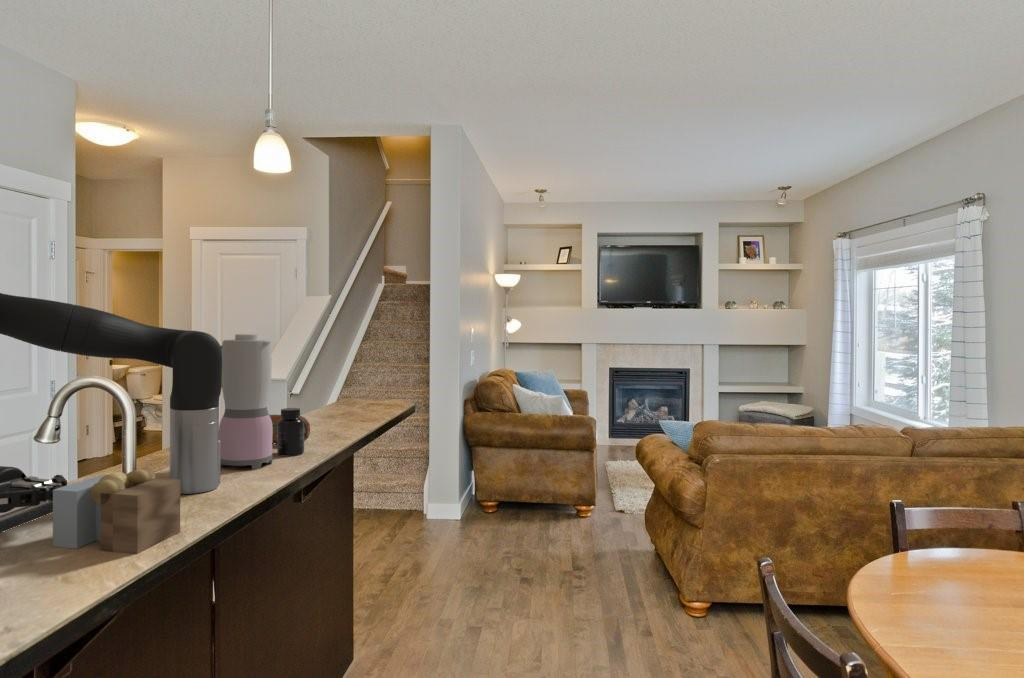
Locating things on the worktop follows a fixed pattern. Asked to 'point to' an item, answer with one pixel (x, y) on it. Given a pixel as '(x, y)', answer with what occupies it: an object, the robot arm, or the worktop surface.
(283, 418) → the supplement bottle
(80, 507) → the grey block
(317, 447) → the worktop surface
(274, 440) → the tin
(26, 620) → the worktop surface
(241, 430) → the blender
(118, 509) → the fixed leaf
